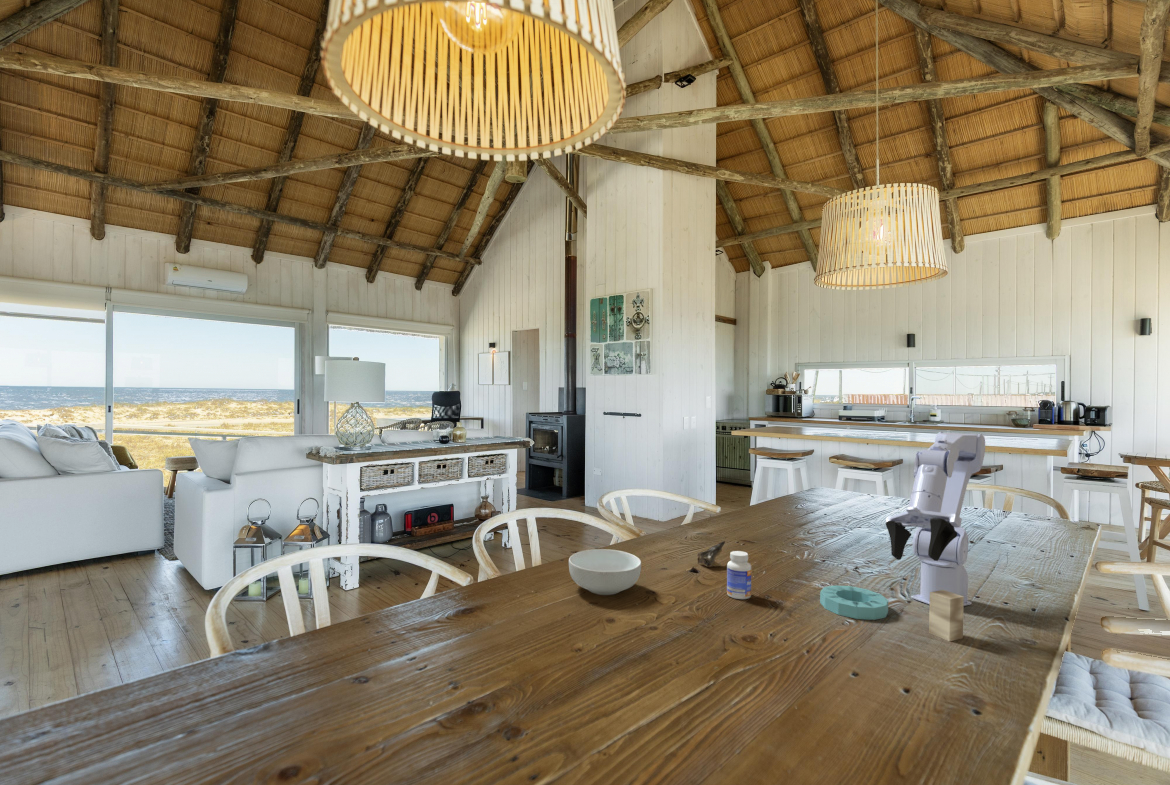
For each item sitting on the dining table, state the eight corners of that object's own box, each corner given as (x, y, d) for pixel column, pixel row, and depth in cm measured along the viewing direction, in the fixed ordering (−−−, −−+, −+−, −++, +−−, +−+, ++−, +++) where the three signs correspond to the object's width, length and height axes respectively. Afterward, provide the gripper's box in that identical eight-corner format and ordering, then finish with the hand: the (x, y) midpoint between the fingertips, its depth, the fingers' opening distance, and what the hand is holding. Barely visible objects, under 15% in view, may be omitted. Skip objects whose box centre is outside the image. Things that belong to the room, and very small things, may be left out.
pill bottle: (752, 601, 125) (752, 557, 125) (727, 598, 126) (727, 555, 126) (749, 592, 130) (750, 550, 130) (726, 590, 132) (726, 549, 132)
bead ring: (849, 593, 131) (850, 582, 131) (901, 614, 119) (901, 602, 119) (808, 601, 126) (808, 589, 126) (857, 623, 114) (857, 611, 114)
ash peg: (942, 629, 112) (943, 589, 112) (962, 638, 108) (963, 596, 108) (928, 632, 110) (929, 592, 110) (949, 641, 106) (950, 599, 106)
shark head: (718, 565, 154) (718, 540, 155) (731, 568, 148) (731, 542, 149) (692, 565, 151) (693, 539, 153) (705, 568, 145) (705, 541, 147)
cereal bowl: (556, 595, 127) (556, 564, 126) (584, 573, 142) (584, 545, 142) (628, 607, 120) (628, 574, 120) (649, 583, 136) (649, 554, 136)
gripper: (882, 491, 123) (868, 546, 116) (950, 485, 110) (938, 547, 104) (902, 508, 124) (889, 564, 118) (971, 505, 112) (960, 567, 106)
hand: (913, 557), depth 111 cm, fingers open, 7 cm apart
